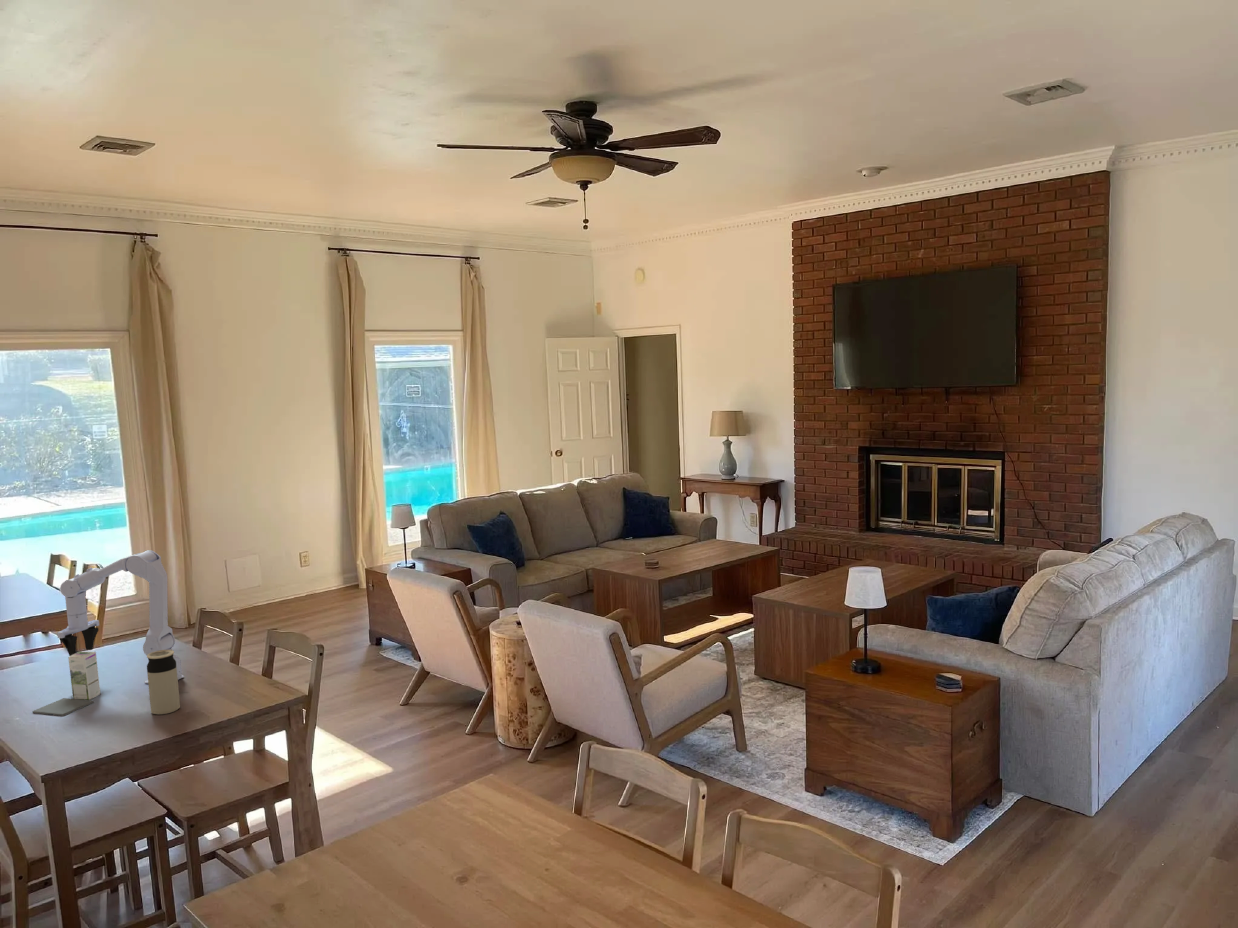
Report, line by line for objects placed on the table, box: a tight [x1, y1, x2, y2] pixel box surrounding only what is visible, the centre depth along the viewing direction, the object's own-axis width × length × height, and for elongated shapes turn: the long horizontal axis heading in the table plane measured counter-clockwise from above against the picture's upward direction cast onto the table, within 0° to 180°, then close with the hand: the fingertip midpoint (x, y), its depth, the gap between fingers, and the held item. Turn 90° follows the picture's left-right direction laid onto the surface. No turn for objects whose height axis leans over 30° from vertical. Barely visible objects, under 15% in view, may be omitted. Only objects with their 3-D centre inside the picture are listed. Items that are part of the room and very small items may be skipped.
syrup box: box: [68, 651, 101, 701], centre depth 284 cm, size 6×6×14 cm
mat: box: [32, 697, 95, 717], centre depth 276 cm, size 12×11×1 cm
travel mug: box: [146, 649, 181, 716], centre depth 270 cm, size 8×8×18 cm
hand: (81, 652), depth 298 cm, fingers open, 6 cm apart
